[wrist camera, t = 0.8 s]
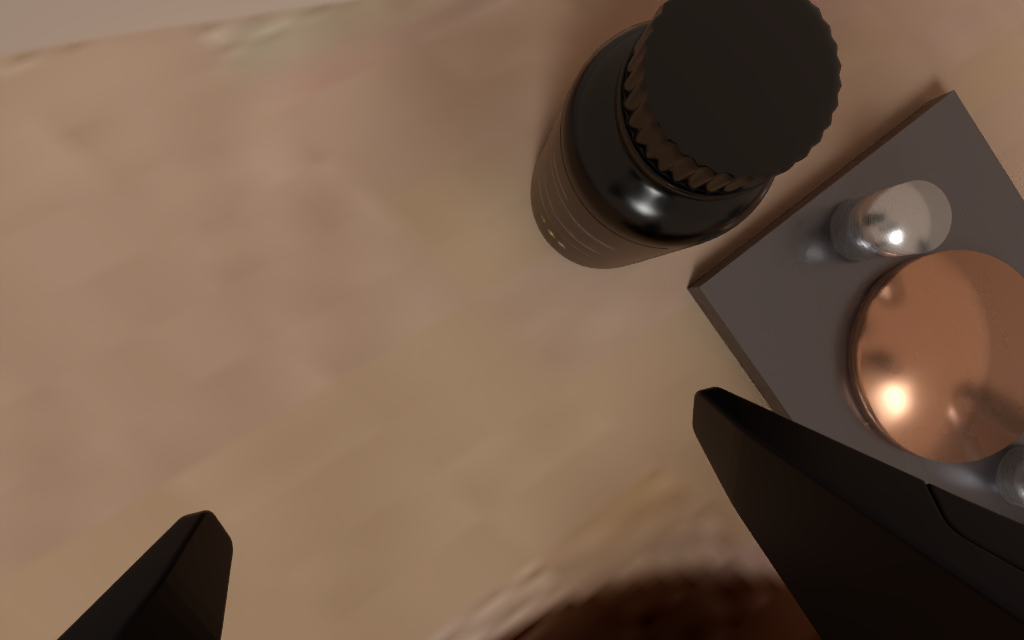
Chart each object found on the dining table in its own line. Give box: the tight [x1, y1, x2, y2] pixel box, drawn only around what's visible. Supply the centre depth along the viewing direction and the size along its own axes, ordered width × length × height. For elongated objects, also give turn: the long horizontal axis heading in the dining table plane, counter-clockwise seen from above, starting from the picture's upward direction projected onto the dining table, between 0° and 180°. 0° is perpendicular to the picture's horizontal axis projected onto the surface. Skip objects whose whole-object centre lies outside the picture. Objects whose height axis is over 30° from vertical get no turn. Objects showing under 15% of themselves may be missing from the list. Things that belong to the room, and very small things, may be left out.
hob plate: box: [687, 90, 1024, 524], centre depth 22 cm, size 20×16×4 cm
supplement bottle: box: [531, 0, 841, 269], centre depth 17 cm, size 7×7×12 cm
